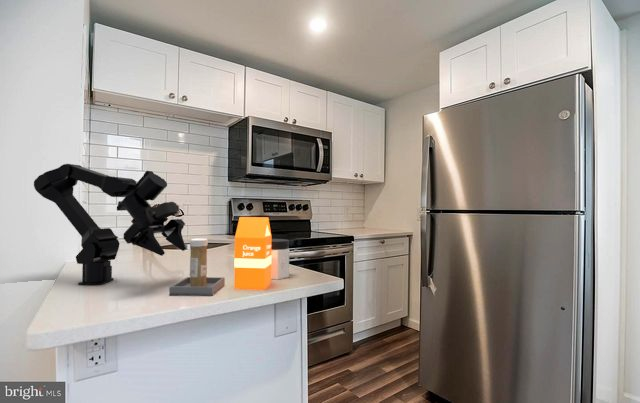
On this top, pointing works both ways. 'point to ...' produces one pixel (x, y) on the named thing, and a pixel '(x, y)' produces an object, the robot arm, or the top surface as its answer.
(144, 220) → the robot arm
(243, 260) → the orange juice
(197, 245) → the spice shaker
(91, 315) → the top surface
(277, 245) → the jar
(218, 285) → the tray
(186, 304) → the top surface
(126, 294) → the top surface
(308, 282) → the top surface
